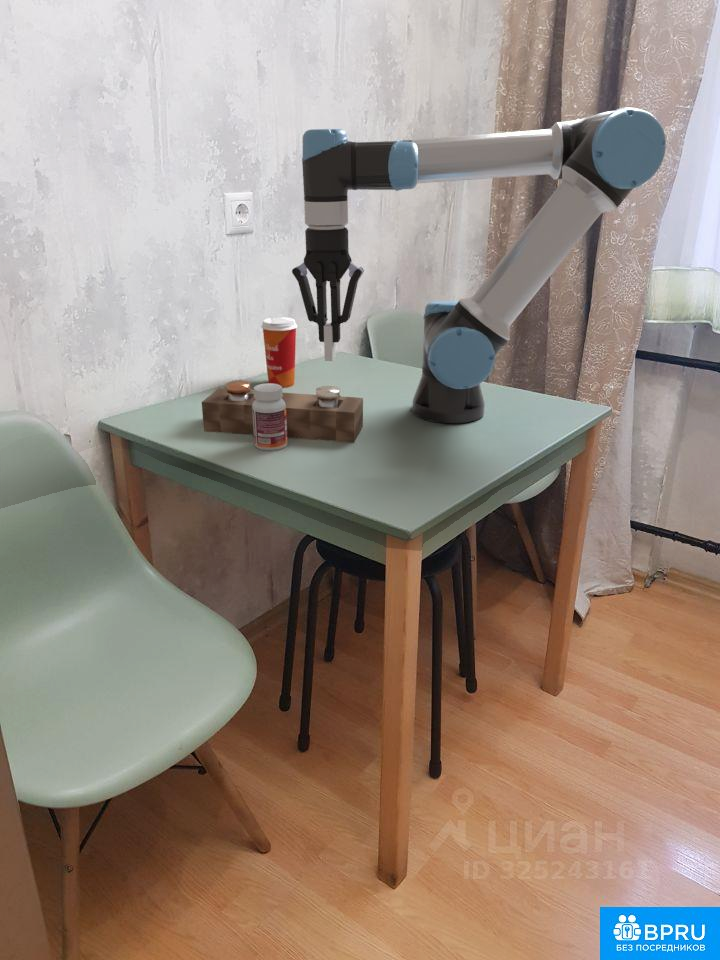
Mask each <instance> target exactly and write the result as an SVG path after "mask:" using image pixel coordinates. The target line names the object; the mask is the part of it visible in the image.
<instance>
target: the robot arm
mask: <svg viewBox="0 0 720 960" xmlns="http://www.w3.org/2000/svg"><path fill="white" fill-rule="evenodd" d="M347 135H348V134H347V131H346V130H345V129H342V128H332V129H331V128H324V129H323V128H321V129H320V128H319V129H316V128H315V129H307V130H306V131H305V132H304V133H303V134H302V159H301V162H302V181H303V196H304V197H303V200H304V201H303V203H304V205H303V206H304V225H306V226H308V227H307V228H305V231H304V234H305V256H304V258H303V263H301V264H300V265H297V266H296V267H294V268H293V269H292V270H291V273H292V274H293V276H294V278H295V280H296V281H297V283H298V288H299V291H300V295H301V298H302V301H303V305H304V309H305V313H306V316H307V319H308V321H309V322H313V323H315V324H317V326H318V327H317V328H318V340H319V342H320V343H323V344H324V345H323V346H324V361H325V362H334V360H335V359H336V358H337V354H336V343H339V342H340V340H341V324H344V323H347V322H348V321H349V320H350V318H351V314H352V312H353V311H352V310H353V307H354V301H355V298H356V293H357V292H356V291H357V289H358V282H359V280H360V278H361V277H362V276H363V274H364V271H365V269H364V267H361V266H357V265H356V264H354V263H352V258H351V256H350V254H349V253H350V252H349V251H350V250H349V229H348V228H347V227H345V226H347V225H348V224H349V209H348V208H349V204H348V203H349V202H348V201H349V200H348V197H349V196H348V191H349V190H351V191H357V190H358V191H359V190H366V191H371V190H373V191H378V190H379V191H388V190H389V191H395V192H398V191H402V190H412V189H414V188H416V186H417V184H426V183H427V184H428V183H429V184H430V183H444V182H457V181H458V182H459V181H470V180H486V179H498V178H499V179H500V178H501V179H502V178H514V177H528V176H529V177H530V176H542V175H543V176H544V175H548V176H550V177H551V178H552V179H553V180H561V183H560V184H559V185H558V187H556V189H555V190H554V192H553V193H552V194H551V196H550V197H549V198H547V201H546V202H544V205H542V207H541V208H540V209H539V211H538V212H537V214H536V215H534V217H533V219H531V221H530V222H529V224H528V225H527V226H526V228H525V229H524V230H523V232H522V233H521V234H520V235H519V236H518V237H517V239H516V240H515V242H514V243H513V244H512V245H511V246H510V248H509V250H508V251H507V252H506V254H505V255H504V256H503V257H502V258H501V260H500V261H499V262H498V263H497V265H496V266H495V267H494V269H493V270H492V271H491V273H490V274H489V275H488V277H487V278H486V279H485V280H484V282H483V283H482V284H481V286H480V287H479V288H478V289H477V291H476V292H475V293H474V295H473V296H471V297H465V298H460V299H459V300H458V301H454V300H453V301H449V300H448V301H447V300H446V301H432V302H431V301H430V302H428V303H427V304H426V306H425V308H424V315H423V320H424V323H423V341H422V342H423V344H422V345H423V347H422V348H423V349H422V369H421V370H422V371H421V377H420V379H419V383H418V385H417V386H416V387H417V388H416V390H415V393H414V396H413V399H412V403H411V404H412V405H411V406H412V407H411V411H412V414H414V416H416V417H418V418H420V419H423V420H425V421H431V422H435V423H440V424H441V423H442V424H463V423H464V424H465V423H470V422H473V421H477V420H480V419H481V418H482V417H484V415H485V406H486V405H485V399H484V395H483V391H482V388H481V383H483V382H484V381H485V380H486V379H487V378H488V377H489V376H490V374H491V373H492V371H493V369H494V366H495V363H496V357H497V355H498V354H499V353H500V351H502V349H503V348H504V347H505V345H506V344H507V343H508V342H509V341H510V339H511V336H510V328H511V325H512V324H513V322H514V321H516V319H517V317H519V316H520V314H521V313H522V312H523V310H524V309H525V308H526V307H527V305H528V304H529V303H530V302H531V301H532V300H533V298H534V297H535V296H536V294H537V293H538V292H539V291H540V290H541V288H542V287H543V286H544V285H545V284H546V282H547V281H548V280H549V278H550V277H551V276H552V274H553V273H555V271H556V269H557V268H558V267H560V265H561V264H562V262H564V260H565V259H566V257H567V256H568V255H569V253H570V252H571V251H572V250H573V249H574V248H575V246H576V245H577V244H578V243H579V241H580V240H581V239H582V238H583V237H584V235H585V234H586V233H587V232H588V231H589V230H590V228H591V227H592V225H593V224H594V223H595V222H596V220H598V218H599V217H600V216H601V215H602V214H603V213H606V212H607V213H608V212H613V211H616V210H617V209H618V208H619V207H620V205H621V204H622V203H623V201H624V200H625V199H626V198H627V197H628V196H629V194H631V192H632V191H633V189H636V188H638V187H641V186H643V184H645V183H646V182H648V181H650V180H651V178H653V177H654V175H656V173H657V172H658V171H659V169H660V167H661V165H662V163H663V161H664V157H665V154H666V148H667V146H666V135H665V131H664V127H662V124H661V123H660V122H659V120H658V118H657V117H655V116H654V115H653V114H652V113H650V112H648V111H646V110H644V109H640V108H637V107H631V106H630V107H629V106H628V107H627V106H626V107H621V108H618V109H615V110H611V111H610V110H608V111H603V112H600V113H597V114H594V115H590V116H587V117H584V118H578V119H574V120H568V121H556V122H555V123H554V124H553V125H552V126H551V127H550V128H545V129H533V130H521V131H518V130H517V131H506V132H494V133H483V134H482V133H480V134H479V133H478V134H470V135H469V134H468V135H457V136H443V137H442V136H441V137H432V138H419V139H418V138H417V139H411V140H409V139H407V140H404V139H403V140H393V141H392V140H391V141H388V140H387V141H386V140H385V141H363V142H362V141H361V142H360V141H358V142H357V141H351V140H350V141H349V138H348V137H347ZM308 271H309V273H310V274H311V275H312V277H313V278H314V280H315V288H316V305H315V301H314V297H313V293H312V290H311V285H310V281H309V279H308V276H307V275H308ZM347 271H348V276H349V278H350V279H349V281H348V285H347V289H346V294H345V298H344V303H343V304H344V305H343V308H342V313H341V279H342V278H343V277H344V275H345V274H346V272H347ZM327 282H328V283H329V288H330V310H331V311H330V314H331V322H328V319H329V318H328V305H327V304H328V303H327V301H328V300H327Z"/></svg>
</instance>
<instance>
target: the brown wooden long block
mask: <svg viewBox="0 0 720 960" xmlns="http://www.w3.org/2000/svg"><path fill="white" fill-rule="evenodd" d="M282 393H283V397H282V398H281V399H283V400H284V401H285V403H286V419H287V439H288V438H290V439H300V440H301V439H302V440H315V441H329V442H342V443H351V444H352V443H355V442H356V440H357V438H358V437H359V435H360V433H361V430H362V429H363V427H364V397H354V396H341V395H340V398H339V399H338V408H331V407H319V399H317V398H316V394H312V393H311V394H310V393H309V394H308V393H297V392H296V393H295V392H294V393H293V392H282ZM255 400H256V399H255V398H254V390H251V391H250V392H249V393H248V401H247V402H244V401H230V394H229V393H227V388H219V387H218V388H217V389H216V390H214V391H213V392H212V393H210V394H209V395H208V396H207V397H206V398H205V399H203V400H202V401H201V411H202V413H201V414H202V422H203V431H204V432H211V433H222V434H223V433H224V434H236V435H248V436H249V435H251V436H254V429H253V413H252V404H253V402H254V401H255Z"/></svg>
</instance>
